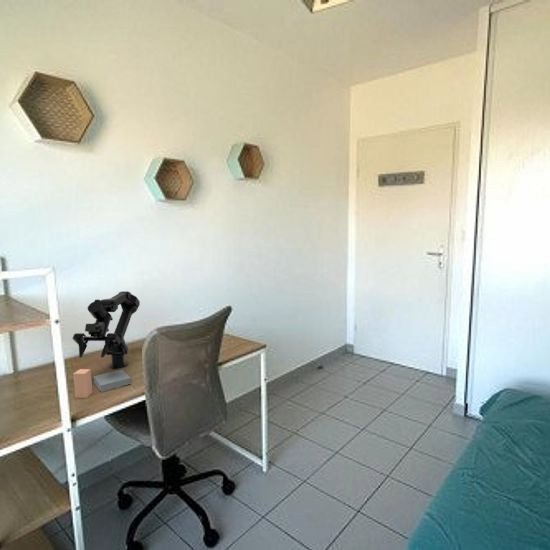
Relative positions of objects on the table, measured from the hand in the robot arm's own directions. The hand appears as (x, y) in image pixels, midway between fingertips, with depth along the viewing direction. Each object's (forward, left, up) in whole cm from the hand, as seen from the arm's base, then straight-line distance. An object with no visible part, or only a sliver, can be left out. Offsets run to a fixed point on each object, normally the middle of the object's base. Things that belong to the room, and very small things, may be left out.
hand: (91, 357), depth 161 cm
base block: (+2, +7, -13) cm, 15 cm away
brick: (+6, -5, -13) cm, 15 cm away
